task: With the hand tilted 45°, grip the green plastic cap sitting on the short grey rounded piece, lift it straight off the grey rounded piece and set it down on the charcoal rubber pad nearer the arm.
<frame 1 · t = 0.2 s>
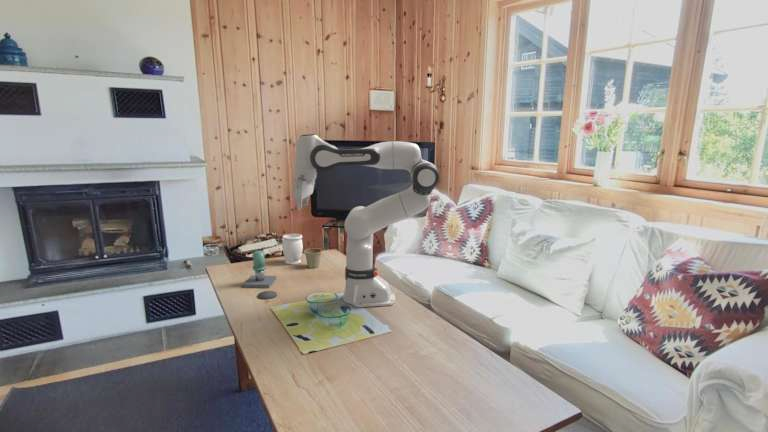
hand: (302, 207, 172), 39 cm above the table, tool pointing down, fingers open, 8 cm apart
pad: (267, 295, 181), on the table
flower pot: (313, 266, 221), on the table
jar: (293, 262, 227), on the table
grey rounded piece: (259, 274, 195), on the post slab, point 4 cm above the table
post slab: (260, 283, 195), on the table
cap: (259, 268, 194), point 7 cm above the table, touching grey rounded piece
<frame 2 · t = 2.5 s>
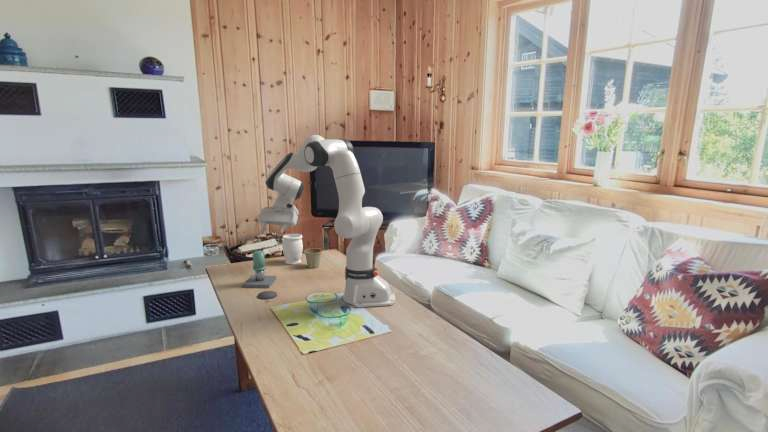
hand: (272, 231, 203), 22 cm above the table, tool tilted 45°, fingers open, 8 cm apart
nothing on the table moved.
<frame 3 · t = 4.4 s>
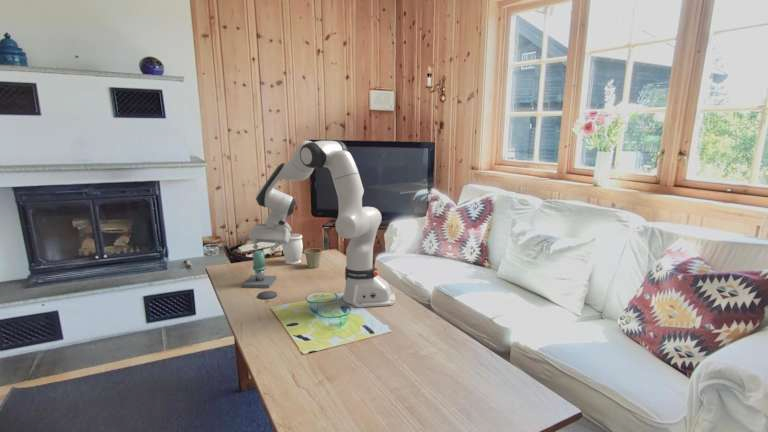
hand: (263, 249, 196), 15 cm above the table, tool tilted 45°, fingers open, 8 cm apart
nothing on the table moved.
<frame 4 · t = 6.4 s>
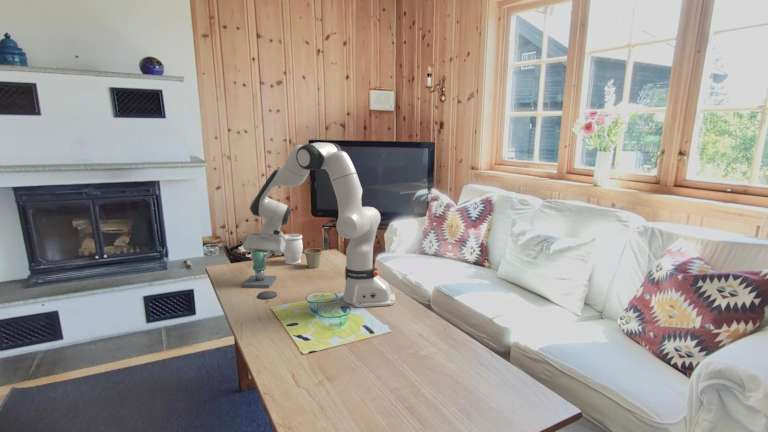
hand: (258, 259, 193), 12 cm above the table, tool tilted 45°, fingers closed on cap, 5 cm apart
cap: (259, 268, 194), point 7 cm above the table, touching gripper, grey rounded piece
everything else where it was.
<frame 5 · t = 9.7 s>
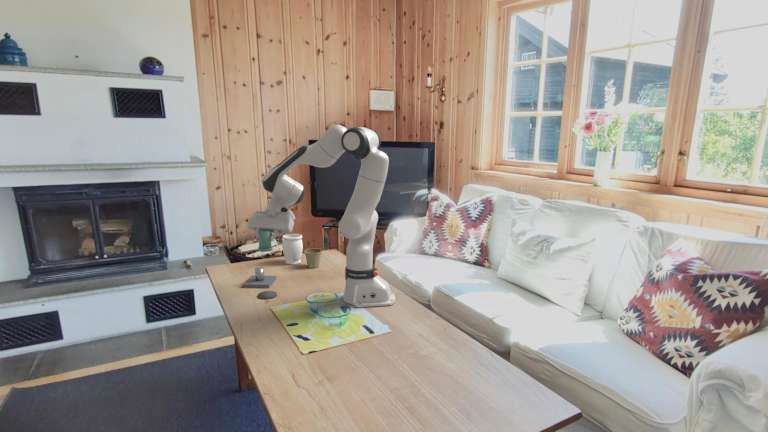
hand: (264, 239, 175), 25 cm above the table, tool tilted 45°, fingers closed on cap, 5 cm apart
cap: (265, 249, 177), point 21 cm above the table, touching gripper
everything else where it was.
when the fingers open (7 cm above the table, at t = 13.0 s): cap drops 2 cm, resting on pad.
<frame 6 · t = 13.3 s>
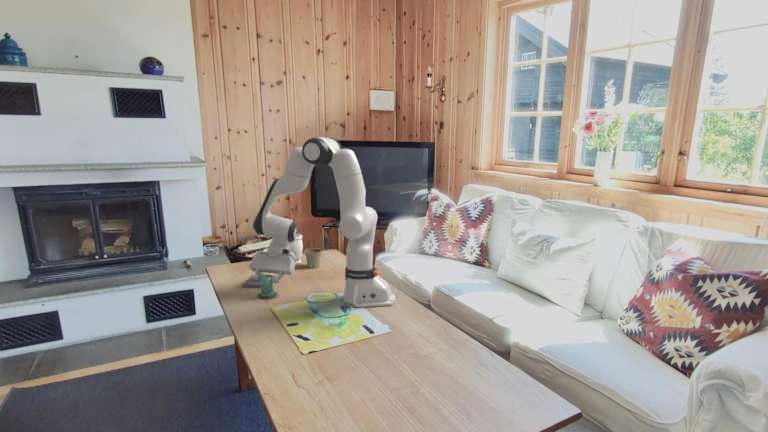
hand: (265, 281, 179), 7 cm above the table, tool tilted 45°, fingers open, 8 cm apart
cap: (267, 294, 180), point 1 cm above the table, touching pad
everything else where it was.
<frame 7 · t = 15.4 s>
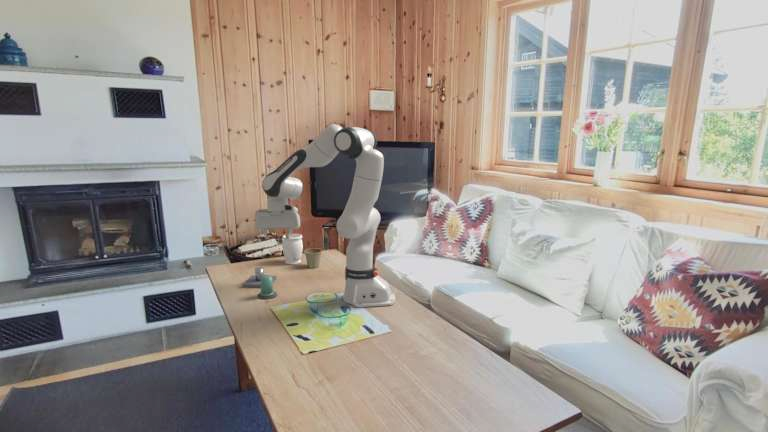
hand: (277, 239, 187), 23 cm above the table, tool tilted 20°, fingers open, 8 cm apart
nothing on the table moved.
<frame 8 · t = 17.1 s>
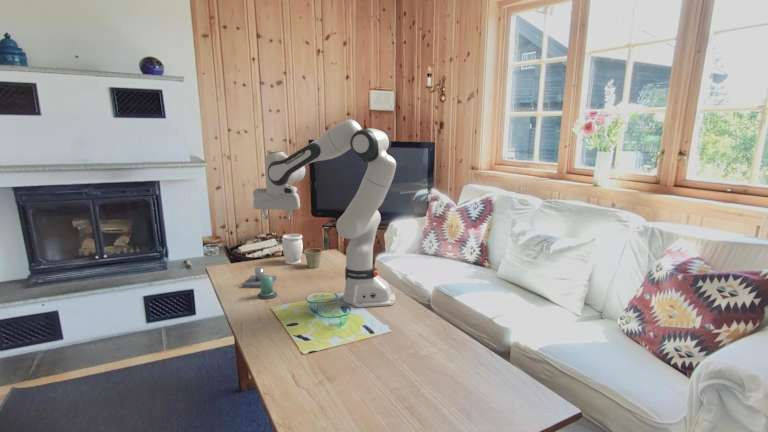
hand: (277, 219, 187), 31 cm above the table, tool pointing down, fingers open, 8 cm apart
nothing on the table moved.
at the end: cap inside the target area on the pad (0.0 cm from its centre), point 0.6 cm above the pad's base; cap tilted 0°; cap touching pad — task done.
